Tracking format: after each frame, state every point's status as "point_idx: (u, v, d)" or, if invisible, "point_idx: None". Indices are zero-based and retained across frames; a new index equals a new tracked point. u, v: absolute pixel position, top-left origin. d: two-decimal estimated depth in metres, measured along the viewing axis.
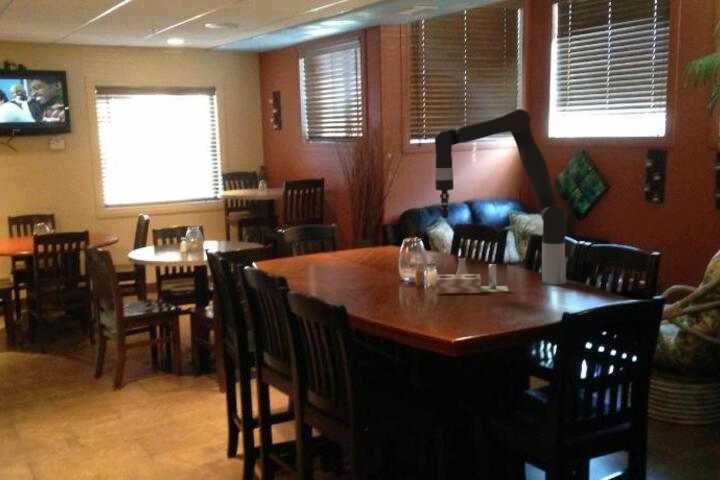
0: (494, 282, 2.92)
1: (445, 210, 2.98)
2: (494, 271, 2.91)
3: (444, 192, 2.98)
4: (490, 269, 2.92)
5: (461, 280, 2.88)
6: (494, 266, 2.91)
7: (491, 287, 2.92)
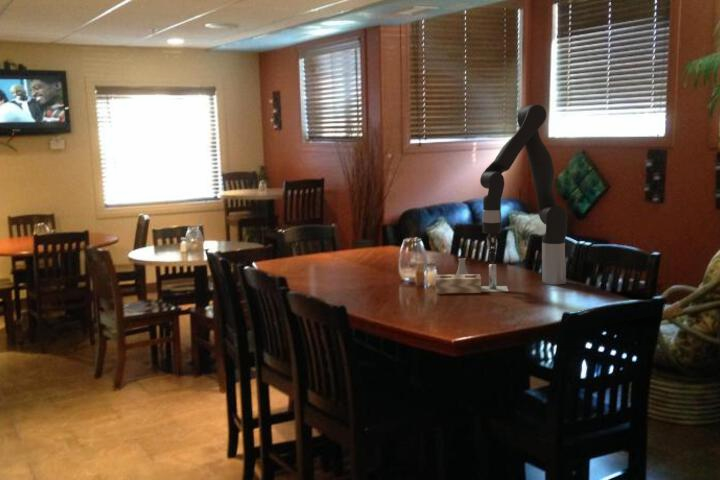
0: (494, 282, 2.92)
1: (493, 254, 2.86)
2: (494, 271, 2.91)
3: (492, 235, 2.87)
4: (490, 269, 2.92)
5: (461, 280, 2.88)
6: (494, 266, 2.91)
7: (491, 287, 2.92)
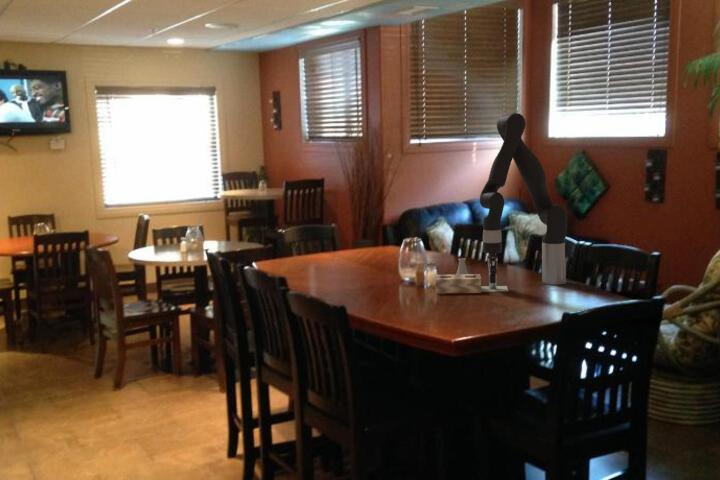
0: None
1: (493, 275, 2.90)
2: None
3: (492, 255, 2.88)
4: None
5: (461, 280, 2.88)
6: None
7: (491, 287, 2.92)
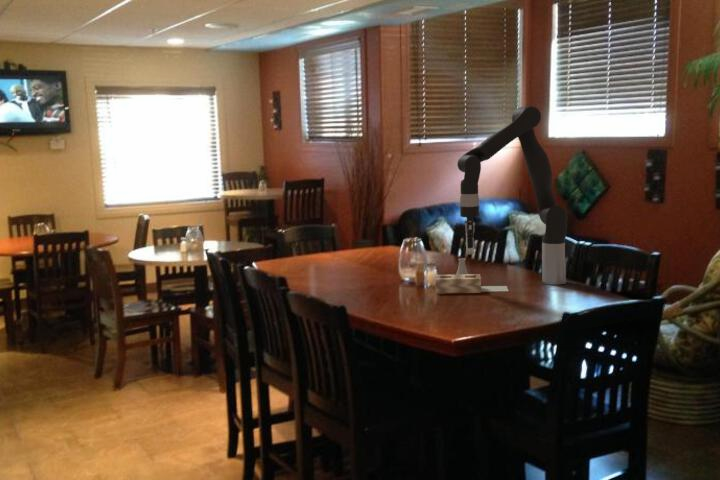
0: None
1: (470, 240, 2.87)
2: None
3: (469, 219, 2.85)
4: None
5: (461, 280, 2.88)
6: None
7: (468, 252, 2.89)
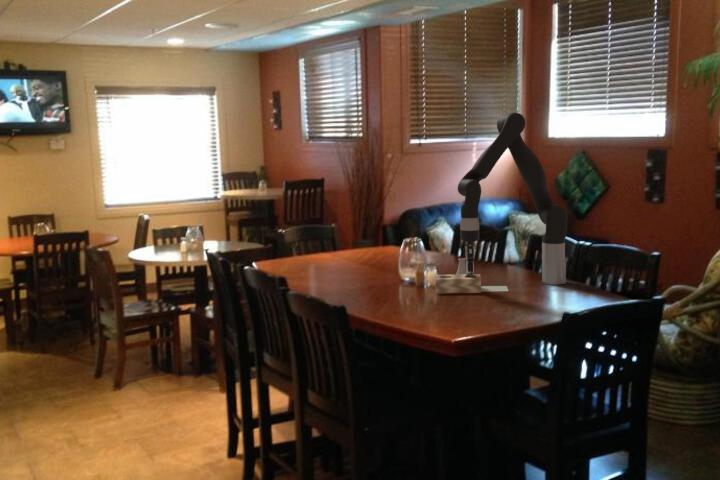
0: None
1: (470, 263, 2.89)
2: None
3: (470, 243, 2.87)
4: None
5: (461, 280, 2.88)
6: None
7: (468, 275, 2.91)
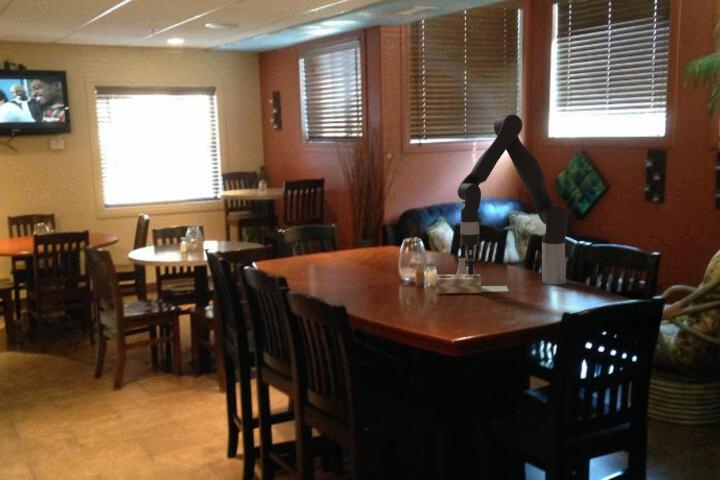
0: None
1: (471, 266, 2.86)
2: None
3: (470, 247, 2.87)
4: (467, 271, 2.91)
5: (461, 280, 2.88)
6: None
7: None
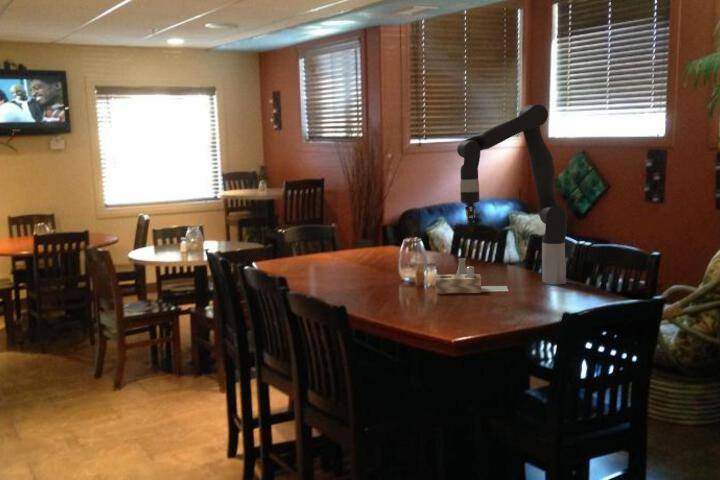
0: None
1: (471, 223, 2.85)
2: (472, 273, 2.91)
3: (470, 204, 2.85)
4: (467, 271, 2.91)
5: (461, 280, 2.88)
6: (472, 268, 2.90)
7: None
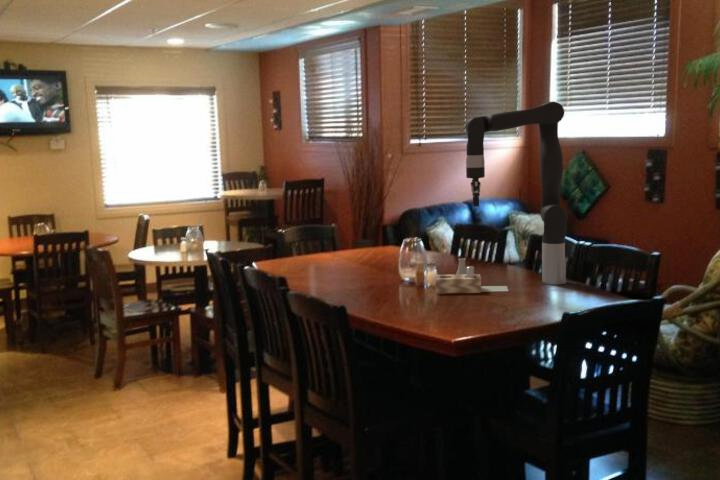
0: None
1: (476, 198, 2.92)
2: (472, 273, 2.91)
3: (475, 180, 2.92)
4: (467, 271, 2.91)
5: (461, 280, 2.88)
6: (472, 268, 2.90)
7: None
